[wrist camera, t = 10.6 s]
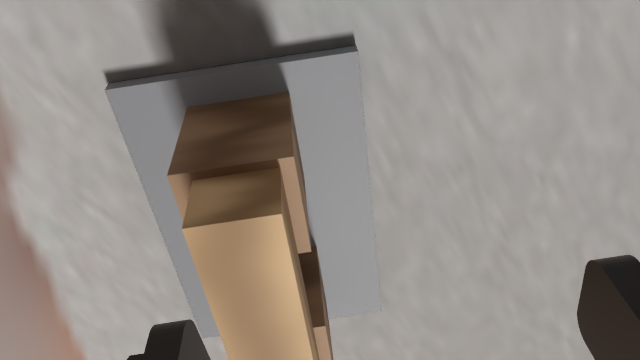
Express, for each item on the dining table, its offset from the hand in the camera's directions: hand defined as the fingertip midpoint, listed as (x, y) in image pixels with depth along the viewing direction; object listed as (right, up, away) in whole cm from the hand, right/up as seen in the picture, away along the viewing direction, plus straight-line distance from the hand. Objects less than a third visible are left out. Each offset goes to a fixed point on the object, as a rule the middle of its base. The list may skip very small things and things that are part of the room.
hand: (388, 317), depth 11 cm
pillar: (-5, +5, +16) cm, 17 cm away
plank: (-4, -3, +14) cm, 14 cm away
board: (-4, +1, +19) cm, 20 cm away
